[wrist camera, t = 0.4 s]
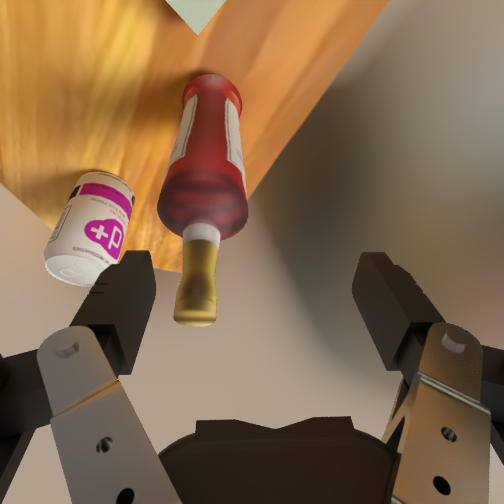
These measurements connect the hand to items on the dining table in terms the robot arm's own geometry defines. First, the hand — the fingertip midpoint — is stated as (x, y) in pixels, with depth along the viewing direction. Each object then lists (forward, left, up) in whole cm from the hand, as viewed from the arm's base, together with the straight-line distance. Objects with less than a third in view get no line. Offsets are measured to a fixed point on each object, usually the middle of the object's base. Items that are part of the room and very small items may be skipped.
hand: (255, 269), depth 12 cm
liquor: (+3, -8, -30) cm, 31 cm away
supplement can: (+1, -30, -30) cm, 43 cm away
